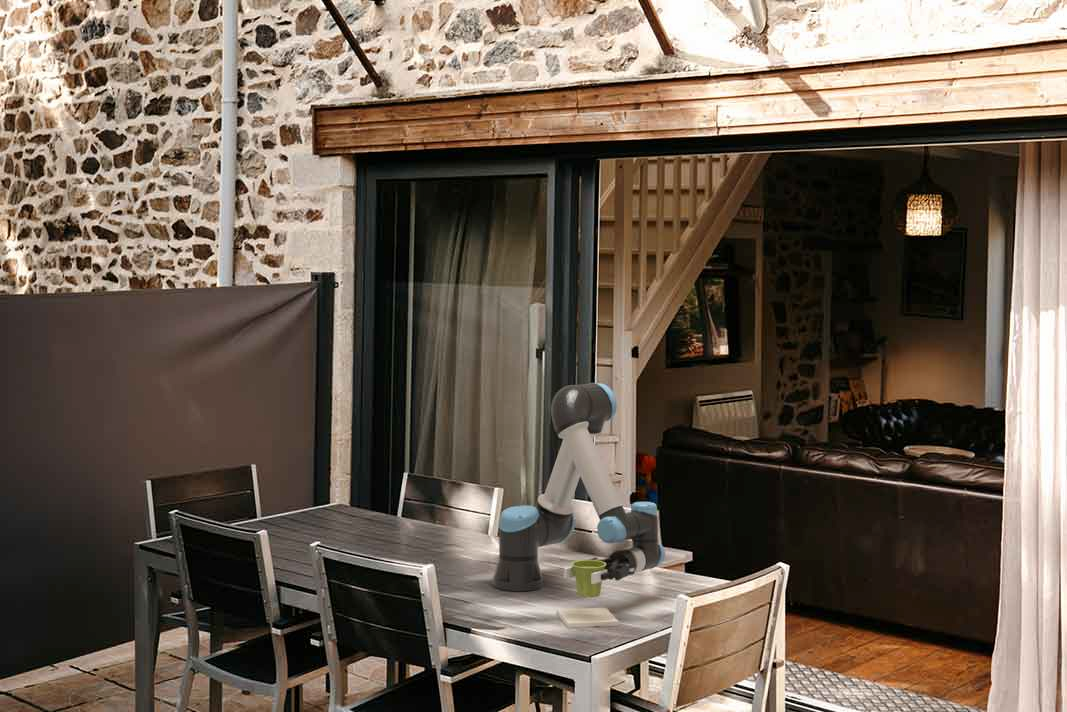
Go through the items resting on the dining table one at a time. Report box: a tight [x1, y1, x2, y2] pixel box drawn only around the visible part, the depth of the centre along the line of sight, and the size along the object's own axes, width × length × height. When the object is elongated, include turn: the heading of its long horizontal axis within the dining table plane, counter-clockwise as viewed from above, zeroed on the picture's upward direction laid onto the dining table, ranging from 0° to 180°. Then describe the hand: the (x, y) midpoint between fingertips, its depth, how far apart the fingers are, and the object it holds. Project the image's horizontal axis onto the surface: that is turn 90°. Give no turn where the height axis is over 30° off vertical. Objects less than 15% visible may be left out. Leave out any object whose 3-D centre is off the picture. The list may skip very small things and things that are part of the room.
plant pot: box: [571, 559, 606, 598], centre depth 340 cm, size 9×9×9 cm
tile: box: [556, 607, 619, 629], centre depth 341 cm, size 14×14×1 cm
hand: (578, 576), depth 336 cm, fingers closed on plant pot, 8 cm apart
